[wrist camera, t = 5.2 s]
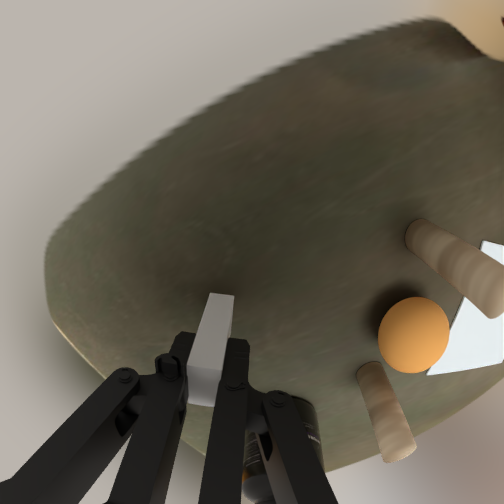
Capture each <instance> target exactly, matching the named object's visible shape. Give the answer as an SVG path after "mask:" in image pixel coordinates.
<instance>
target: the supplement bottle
mask: <svg viewBox="0 0 504 504" xmlns="http://www.w3.org/2000/svg"><path fill="white" fill-rule="evenodd" d="M291 398H292V397H291ZM292 399H293V401H294V403H295V406H296V408H297V410H298V413H299V415H300V418H301V420H302V422H303V425H304V427H305V429H306V432H307V434H308V436H309V438H310V441H311V443H312V445H313V448H314V450H315V452H316V455H317V457H318V459H319V461H320V464H321V466H322V468H323V470H324V473H325V468H324V461H323V454H322V447H321V440H320V433H319V426H318V421H317V415H316V412H315V410H314V408H313V407H312V406H311V405H310V404H309V403H307V402H305V401H303V400H300V399H297V398H292ZM242 493H243V494H244V496H245V497H246V498H247V499H249V500H250V501H252V502H254V503H255V504H276V501H275V498H274V495H273V491H272V488H271V485H270V482H269V478H268V475H267V472H266V469H265V465H264V462H263V458H262V455H261V452H260V448H259V445H258V441H257V438H256V434H255V433H254V432H252V431H249V430H245V446H244V461H243V476H242Z"/></svg>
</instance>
